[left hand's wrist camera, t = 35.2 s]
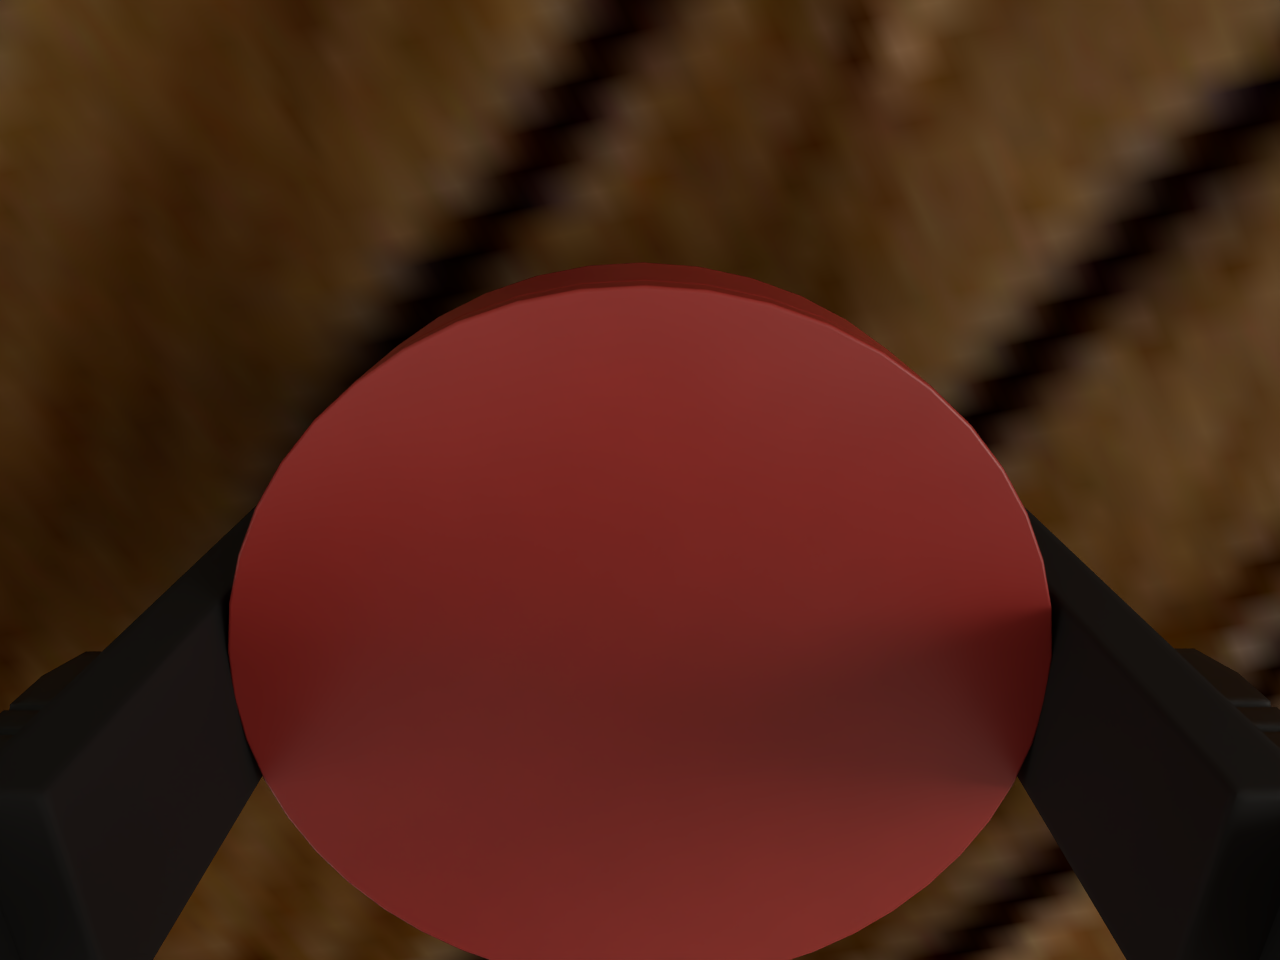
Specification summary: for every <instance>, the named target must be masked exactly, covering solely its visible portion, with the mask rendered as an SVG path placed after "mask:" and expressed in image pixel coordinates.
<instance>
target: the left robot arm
mask: <svg viewBox="0 0 1280 960" xmlns="http://www.w3.org/2000/svg"><path fill="white" fill-rule="evenodd" d="M255 508H256V507H254V508H253V509H252V510H251V511H250V512H249V513H248V514H247V515H246V516H245V517H244V518H243V519H242V520H241V521H240V522H239V523H238V524H237V525H235V526H234V527H233V528H232V529H231V530H230V531H229V532H228V533H227V534H226V535H225V536H224V537H223V538H222V539H221V540H220V541H219V542H218V543H216V544H215V545H214V546H213V547H212V548H211V549H210V550H209V551H208V552H207V553H206V554H205V555H204V556H203V557H202V558H201V559H200V560H199V561H197V562H196V563H195V564H194V565H193V566H192V567H191V568H190V569H189V570H188V571H187V572H186V573H185V574H184V575H183V576H182V577H181V578H180V579H178V580H177V581H176V582H175V583H174V584H173V585H172V586H171V587H170V588H169V589H168V590H167V591H166V592H165V593H164V594H163V595H162V596H160V597H159V598H158V599H157V600H156V601H155V602H154V603H153V604H152V605H151V606H150V607H149V608H148V609H147V610H146V611H145V612H144V613H143V614H141V615H140V616H139V617H138V618H137V619H136V620H135V621H134V622H133V623H132V624H131V625H130V626H129V627H128V628H127V629H126V630H125V631H124V632H122V633H121V634H120V635H119V636H118V637H117V638H116V639H115V640H114V641H113V642H112V643H111V644H110V645H109V646H108V647H107V648H106V649H105V650H103V651H102V652H85V653H83V654H81V655H79V656H77V657H76V658H74V659H72V660H70V661H68V662H67V663H65V664H63V665H61V666H59V667H58V668H56V669H54V670H52V671H50V672H49V673H47V674H45V675H43V676H42V677H41V678H39V679H38V680H37V681H36V682H35V683H34V684H33V685H32V686H30V687H29V688H28V689H27V690H26V691H25V692H24V693H23V694H21V695H20V696H19V697H18V698H17V699H16V700H15V701H14V702H12V703H11V704H10V709H9V710H4V711H2V712H1V713H0V960H153V958H154V957H155V955H156V953H157V952H158V950H159V948H160V947H161V945H162V943H163V942H164V940H165V938H166V937H167V935H168V933H169V932H170V930H171V928H172V927H173V925H174V923H175V921H176V920H177V918H178V916H179V915H180V913H181V911H182V910H183V908H184V906H185V905H186V903H187V901H188V900H189V898H190V896H191V895H192V893H193V891H194V890H195V888H196V886H197V885H198V883H199V881H200V880H201V878H202V876H203V875H204V873H205V871H206V869H207V868H208V866H209V864H210V863H211V861H212V859H213V858H214V856H215V854H216V853H217V851H218V849H219V848H220V846H221V844H222V843H223V841H224V839H225V838H226V836H227V834H228V833H229V831H230V829H231V828H232V826H233V824H234V822H235V821H236V819H237V817H238V816H239V814H240V812H241V811H242V809H243V807H244V806H245V804H246V802H247V801H248V799H249V797H250V796H251V794H252V792H253V791H254V789H255V787H256V786H257V784H258V782H259V781H260V779H261V777H262V773H261V771H260V769H259V766H258V764H257V762H256V760H255V758H254V755H253V753H252V751H251V749H250V746H249V744H248V742H247V740H246V737H245V733H244V730H243V726H242V723H241V719H240V716H239V712H238V708H237V703H236V699H235V694H234V689H233V684H232V678H231V670H230V662H229V655H228V631H229V601H230V596H231V591H232V586H233V580H234V575H235V570H236V565H237V559H238V554H239V552H240V549H241V546H242V543H243V541H244V538H245V535H246V532H247V530H248V527H249V524H250V521H251V519H252V516H253V513H254V510H255ZM1024 508H1025V507H1024ZM1025 510H1026V512H1027V514H1028V517H1029V519H1030V522H1031V525H1032V528H1033V531H1034V534H1035V537H1036V540H1037V543H1038V546H1039V549H1040V552H1041V555H1042V558H1043V561H1044V567H1045V572H1046V578H1047V584H1048V590H1049V596H1050V602H1051V609H1052V659H1051V665H1050V670H1049V675H1048V681H1047V686H1046V691H1045V696H1044V701H1043V705H1042V709H1041V713H1040V718H1039V722H1038V726H1037V730H1036V733H1035V736H1034V739H1033V743H1032V745H1031V747H1030V749H1029V751H1028V754H1027V756H1026V758H1025V760H1024V762H1023V764H1022V766H1021V768H1020V771H1019V773H1018V775H1017V776H1018V778H1019V780H1020V781H1021V783H1022V785H1023V786H1024V788H1025V790H1026V792H1027V793H1028V795H1029V797H1030V798H1031V800H1032V802H1033V803H1034V805H1035V807H1036V808H1037V810H1038V812H1039V813H1040V815H1041V817H1042V818H1043V820H1044V822H1045V823H1046V825H1047V827H1048V828H1049V830H1050V832H1051V833H1052V835H1053V837H1054V839H1055V840H1056V842H1057V844H1058V845H1059V847H1060V849H1061V850H1062V852H1063V854H1064V855H1065V857H1066V859H1067V860H1068V862H1069V864H1070V865H1071V867H1072V869H1073V870H1074V872H1075V874H1076V875H1077V877H1078V879H1079V880H1080V882H1081V884H1082V886H1083V887H1084V889H1085V891H1086V892H1087V894H1088V896H1089V897H1090V899H1091V901H1092V902H1093V904H1094V906H1095V907H1096V909H1097V911H1098V912H1099V914H1100V916H1101V917H1102V919H1103V921H1104V922H1105V924H1106V926H1107V927H1108V929H1109V931H1110V933H1111V934H1112V936H1113V938H1114V939H1115V941H1116V943H1117V944H1118V946H1119V948H1120V949H1121V951H1122V953H1123V954H1124V956H1125V958H1126V959H1127V960H1280V710H1279V709H1278V708H1277V707H1271V705H1270V701H1269V700H1268V699H1267V698H1266V697H1265V696H1263V695H1262V694H1261V693H1260V692H1259V691H1258V690H1257V689H1256V688H1254V687H1253V686H1252V685H1251V684H1250V683H1249V682H1248V681H1247V680H1245V679H1244V678H1243V677H1242V676H1241V675H1240V674H1239V673H1237V672H1235V671H1234V670H1232V669H1230V668H1228V667H1226V666H1224V665H1223V664H1221V663H1219V662H1217V661H1215V660H1214V659H1212V658H1210V657H1208V656H1206V655H1205V654H1203V653H1201V652H1199V651H1197V650H1195V649H1174V648H1173V647H1172V646H1171V645H1170V644H1169V643H1167V642H1166V641H1165V640H1164V639H1163V638H1162V637H1161V636H1160V635H1159V634H1158V633H1157V632H1156V631H1155V630H1154V629H1153V628H1152V627H1151V626H1150V625H1148V624H1147V623H1146V622H1145V621H1144V620H1143V619H1142V618H1141V617H1140V616H1139V615H1138V614H1137V613H1136V612H1135V611H1134V610H1133V609H1132V608H1131V607H1129V606H1128V605H1127V604H1126V603H1125V602H1124V601H1123V600H1122V599H1121V598H1120V597H1119V596H1118V595H1117V594H1116V593H1115V592H1114V591H1113V590H1111V589H1110V588H1109V587H1108V586H1107V585H1106V584H1105V583H1104V582H1103V581H1102V580H1101V579H1100V578H1099V577H1098V576H1097V575H1096V574H1095V573H1094V572H1092V571H1091V570H1090V569H1089V568H1088V567H1087V566H1086V565H1085V564H1084V563H1083V562H1082V561H1081V560H1080V559H1079V558H1078V557H1077V556H1076V555H1075V554H1073V553H1072V552H1071V551H1070V550H1069V549H1068V548H1067V547H1066V546H1065V545H1064V544H1063V543H1062V542H1061V541H1060V540H1059V539H1058V538H1057V537H1056V536H1054V535H1053V534H1052V533H1051V532H1050V531H1049V530H1048V529H1047V528H1046V527H1045V526H1044V525H1043V524H1042V523H1041V522H1040V521H1039V520H1038V519H1037V518H1035V517H1034V516H1033V515H1032V514H1031V513H1030V512H1029V511H1028V510H1027V509H1026V508H1025Z"/></svg>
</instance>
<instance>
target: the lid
mask: <svg viewBox="0 0 1280 960" xmlns="http://www.w3.org/2000/svg"><path fill="white" fill-rule="evenodd" d="M228 655H229V662H230V670H231V678H232V684H233V689H234V694H235V699H236V703H237V708H238V712H239V716H240V719H241V723H242V726H243V730H244V733H245V737H246V740H247V742H248V744H249V746H250V749H251V751H252V753H253V755H254V758H255V760H256V762H257V764H258V766H259V769H260V771H261V773H262V775H263V778H264V780H265V781H266V783H267V784H268V786H269V788H270V789H271V791H272V792H273V794H274V796H275V797H276V799H277V800H278V802H279V804H280V805H281V807H282V808H283V810H284V812H285V813H286V815H287V816H288V818H289V819H290V820H291V821H292V823H293V824H294V825H295V826H296V828H297V829H298V830H299V831H300V832H301V834H302V835H303V836H304V837H305V839H306V840H307V841H308V842H309V843H310V845H311V846H312V847H313V848H314V849H315V851H316V852H317V853H318V854H319V855H320V856H322V857H323V858H324V859H325V860H326V861H327V862H328V863H329V864H330V865H331V866H332V867H333V868H334V869H335V870H336V871H337V872H338V873H339V874H340V875H341V876H342V877H344V878H345V879H346V880H347V881H348V882H349V883H350V884H352V885H353V886H354V887H356V888H357V889H358V890H360V891H361V892H362V893H364V894H365V895H366V896H368V897H369V898H370V899H371V900H373V901H374V902H375V903H377V904H378V905H379V906H381V907H382V908H383V909H385V910H387V911H388V912H390V913H392V914H393V915H395V916H397V917H398V918H400V919H402V920H404V921H405V922H407V923H409V924H410V925H412V926H414V927H415V928H417V929H419V930H420V931H422V932H424V933H426V934H429V935H431V936H433V937H435V938H437V939H439V940H441V941H444V942H446V943H448V944H450V945H452V946H454V947H457V948H459V949H461V950H463V951H466V952H469V953H472V954H475V955H478V956H481V957H483V958H486V959H489V960H791V959H793V958H796V957H799V956H802V955H805V954H808V953H811V952H814V951H816V950H818V949H821V948H823V947H825V946H827V945H830V944H832V943H834V942H836V941H838V940H841V939H843V938H845V937H847V936H850V935H852V934H854V933H856V932H857V931H859V930H861V929H863V928H864V927H866V926H868V925H869V924H871V923H873V922H875V921H876V920H878V919H880V918H882V917H883V916H885V915H887V914H888V913H890V912H892V911H893V910H895V909H896V908H897V907H899V906H900V905H902V904H903V903H904V902H906V901H907V900H908V899H910V898H911V897H912V896H914V895H915V894H916V893H918V892H919V891H921V890H922V889H923V888H925V887H926V886H927V885H929V884H930V883H931V882H932V881H933V880H934V879H935V878H936V877H937V876H938V875H939V874H940V873H942V872H943V871H944V870H945V869H946V868H947V867H948V866H949V865H950V864H951V863H952V862H953V861H954V860H956V859H957V858H958V857H959V856H960V855H961V854H962V853H963V851H964V850H965V849H966V848H967V847H968V845H969V844H970V843H971V842H972V841H973V840H974V838H975V837H976V836H977V835H978V834H979V832H980V831H981V830H982V829H983V828H984V827H985V825H986V824H987V823H988V822H989V821H990V819H991V818H992V816H993V814H994V813H995V811H996V810H997V808H998V807H999V805H1000V804H1001V802H1002V800H1003V799H1004V797H1005V796H1006V794H1007V793H1008V791H1009V790H1010V788H1011V787H1012V785H1013V783H1014V781H1015V779H1016V777H1017V775H1018V773H1019V771H1020V768H1021V766H1022V764H1023V762H1024V760H1025V758H1026V756H1027V754H1028V751H1029V749H1030V747H1031V745H1032V743H1033V739H1034V736H1035V733H1036V730H1037V726H1038V722H1039V718H1040V713H1041V709H1042V705H1043V701H1044V696H1045V691H1046V686H1047V681H1048V675H1049V670H1050V665H1051V659H1052V609H1051V602H1050V596H1049V590H1048V584H1047V578H1046V572H1045V567H1044V561H1043V558H1042V555H1041V552H1040V549H1039V546H1038V543H1037V540H1036V537H1035V534H1034V531H1033V528H1032V525H1031V522H1030V519H1029V517H1028V514H1027V512H1026V510H1025V508H1024V506H1023V504H1022V502H1021V500H1020V498H1019V497H1018V495H1017V493H1016V491H1015V489H1014V487H1013V485H1012V483H1011V482H1010V480H1009V478H1008V476H1007V474H1006V472H1005V470H1004V468H1003V467H1002V466H1001V464H1000V463H999V462H998V460H997V459H996V458H995V456H994V455H993V454H992V452H991V451H990V450H989V448H988V447H987V446H986V444H985V443H984V442H983V440H982V439H981V438H980V436H979V435H978V434H977V432H976V431H975V430H974V428H973V427H972V426H971V425H970V424H969V423H968V422H967V421H966V420H965V419H964V418H963V417H962V416H961V415H960V414H959V413H958V412H957V411H956V410H955V409H954V408H953V407H952V406H951V405H950V404H949V403H948V402H947V401H946V400H945V399H944V398H943V397H942V396H941V395H940V394H939V393H938V392H937V391H936V390H935V389H934V388H933V387H932V386H930V385H929V384H928V383H927V382H926V381H924V380H923V379H922V378H921V377H920V376H918V375H917V374H916V373H915V372H914V371H912V370H911V369H910V368H909V367H908V366H906V365H905V364H904V363H903V362H902V361H900V360H899V359H898V358H897V357H896V356H894V355H893V354H892V353H891V352H890V351H888V350H887V349H886V348H884V347H883V346H882V345H880V344H879V343H877V342H876V341H875V340H873V339H872V338H871V337H869V336H868V335H866V334H865V333H864V332H862V331H861V330H860V329H858V328H857V327H855V326H854V325H853V324H851V323H850V322H848V321H847V320H845V319H844V318H842V317H840V316H838V315H836V314H834V313H832V312H830V311H828V310H826V309H825V308H823V307H821V306H819V305H817V304H815V303H813V302H811V301H809V300H807V299H806V298H804V297H802V296H800V295H797V294H794V293H791V292H788V291H786V290H783V289H780V288H777V287H775V286H772V285H769V284H766V283H764V282H761V281H758V280H755V279H752V278H749V277H744V276H740V275H735V274H730V273H725V272H721V271H716V270H711V269H707V268H702V267H696V266H683V265H670V264H656V263H627V264H610V265H593V266H585V267H580V268H575V269H570V270H565V271H560V272H555V273H549V274H544V275H539V276H535V277H532V278H529V279H526V280H523V281H520V282H517V283H514V284H512V285H509V286H506V287H503V288H500V289H497V290H494V291H491V292H488V293H485V294H483V295H481V296H479V297H477V298H475V299H473V300H471V301H469V302H467V303H466V304H464V305H462V306H460V307H458V308H456V309H454V310H452V311H450V312H448V313H446V314H444V315H442V316H440V317H438V318H437V319H435V320H434V321H432V322H431V323H430V324H428V325H427V326H425V327H424V328H422V329H421V330H420V331H418V332H417V333H415V334H414V335H412V336H411V337H410V338H408V339H407V340H405V341H404V342H402V343H401V344H399V345H398V346H397V347H396V348H394V349H393V350H392V351H391V352H390V353H388V354H387V355H386V356H385V357H384V358H382V359H381V360H380V361H379V362H378V363H377V364H375V365H374V366H373V367H372V368H371V369H369V370H368V371H367V372H366V373H365V374H364V375H362V376H361V377H360V378H359V379H357V380H356V381H355V382H354V383H353V384H352V385H351V386H350V387H349V388H348V389H347V390H345V391H344V392H343V393H342V394H341V395H340V396H339V397H338V398H337V399H336V400H335V401H334V402H333V403H332V404H331V405H330V406H328V407H327V408H326V409H325V410H324V411H323V412H322V413H321V414H320V415H319V416H318V417H317V418H316V419H315V420H314V421H313V422H312V423H311V425H310V426H309V427H308V428H307V430H306V431H305V432H304V433H303V435H302V436H301V437H300V439H299V440H298V441H297V442H296V444H295V445H294V446H293V448H292V449H291V450H290V451H289V453H288V454H287V455H286V456H285V458H284V459H283V460H282V462H281V463H280V465H279V466H278V468H277V470H276V472H275V474H274V475H273V477H272V479H271V481H270V483H269V484H268V486H267V488H266V490H265V492H264V493H263V495H262V497H261V499H260V501H259V502H258V504H257V506H256V508H255V510H254V513H253V516H252V519H251V521H250V524H249V527H248V530H247V532H246V535H245V538H244V541H243V543H242V546H241V549H240V552H239V554H238V559H237V565H236V570H235V575H234V580H233V586H232V591H231V596H230V601H229V631H228Z"/></svg>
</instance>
